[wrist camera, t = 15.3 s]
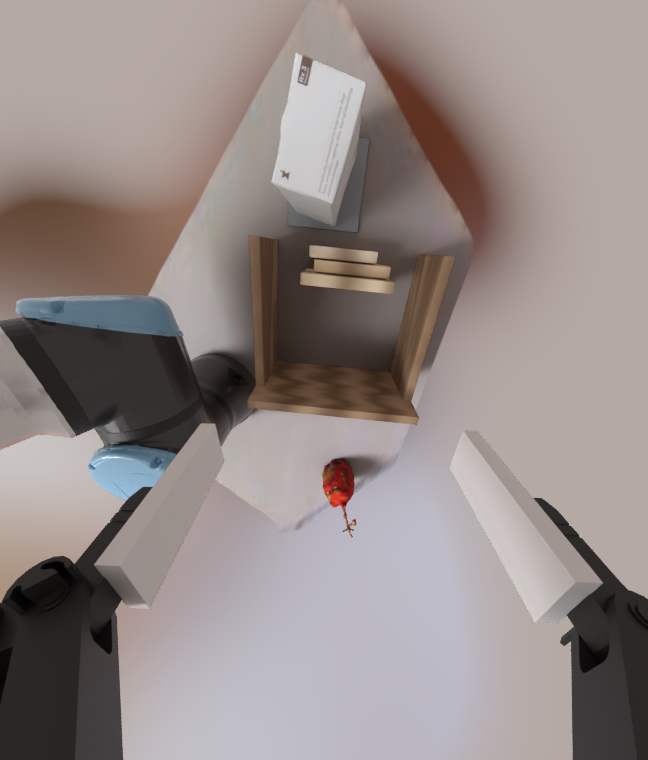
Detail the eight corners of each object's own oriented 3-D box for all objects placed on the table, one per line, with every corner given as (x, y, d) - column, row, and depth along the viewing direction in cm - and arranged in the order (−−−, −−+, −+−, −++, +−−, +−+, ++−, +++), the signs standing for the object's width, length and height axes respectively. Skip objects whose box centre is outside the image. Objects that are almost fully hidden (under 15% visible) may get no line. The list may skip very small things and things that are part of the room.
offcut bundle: (306, 278, 39) (300, 284, 31) (308, 245, 36) (301, 244, 29) (382, 285, 39) (392, 293, 32) (388, 253, 36) (400, 254, 29)
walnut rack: (271, 365, 46) (247, 407, 33) (270, 239, 36) (235, 233, 24) (394, 378, 46) (416, 424, 34) (426, 255, 36) (473, 257, 24)
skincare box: (335, 227, 35) (334, 213, 22) (294, 212, 34) (268, 187, 21) (357, 153, 31) (372, 81, 18) (311, 134, 30) (293, 44, 17)
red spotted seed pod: (335, 452, 55) (335, 515, 42) (360, 465, 57) (367, 530, 44) (317, 471, 59) (311, 535, 45) (341, 483, 60) (342, 549, 47)
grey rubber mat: (288, 225, 35) (287, 225, 35) (290, 131, 31) (289, 130, 30) (357, 232, 35) (357, 232, 35) (369, 140, 31) (369, 138, 30)
